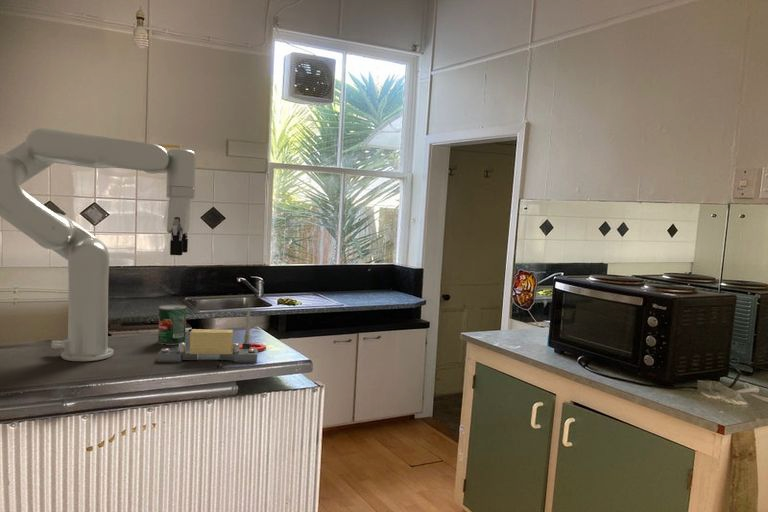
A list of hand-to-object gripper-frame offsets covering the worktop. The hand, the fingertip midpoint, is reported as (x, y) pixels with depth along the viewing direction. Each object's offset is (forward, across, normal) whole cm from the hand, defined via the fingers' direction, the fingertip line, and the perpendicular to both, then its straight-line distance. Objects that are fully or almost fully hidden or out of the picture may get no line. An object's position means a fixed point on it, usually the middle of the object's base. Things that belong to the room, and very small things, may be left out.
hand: (178, 253), depth 165 cm
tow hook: (+29, -3, +21) cm, 36 cm away
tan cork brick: (+26, +9, +11) cm, 30 cm away
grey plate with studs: (+28, +9, +10) cm, 31 cm away
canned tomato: (+28, -11, -3) cm, 31 cm away
